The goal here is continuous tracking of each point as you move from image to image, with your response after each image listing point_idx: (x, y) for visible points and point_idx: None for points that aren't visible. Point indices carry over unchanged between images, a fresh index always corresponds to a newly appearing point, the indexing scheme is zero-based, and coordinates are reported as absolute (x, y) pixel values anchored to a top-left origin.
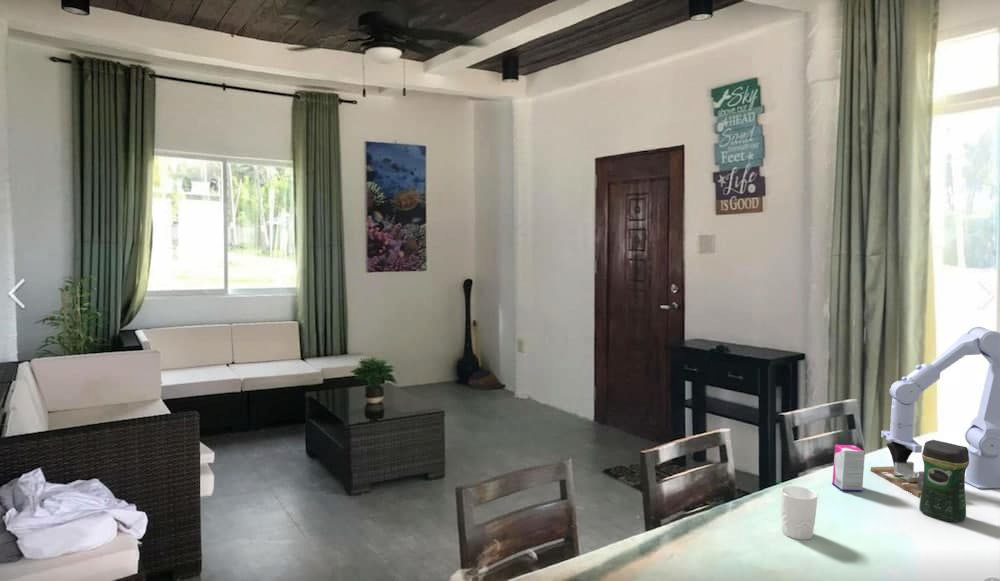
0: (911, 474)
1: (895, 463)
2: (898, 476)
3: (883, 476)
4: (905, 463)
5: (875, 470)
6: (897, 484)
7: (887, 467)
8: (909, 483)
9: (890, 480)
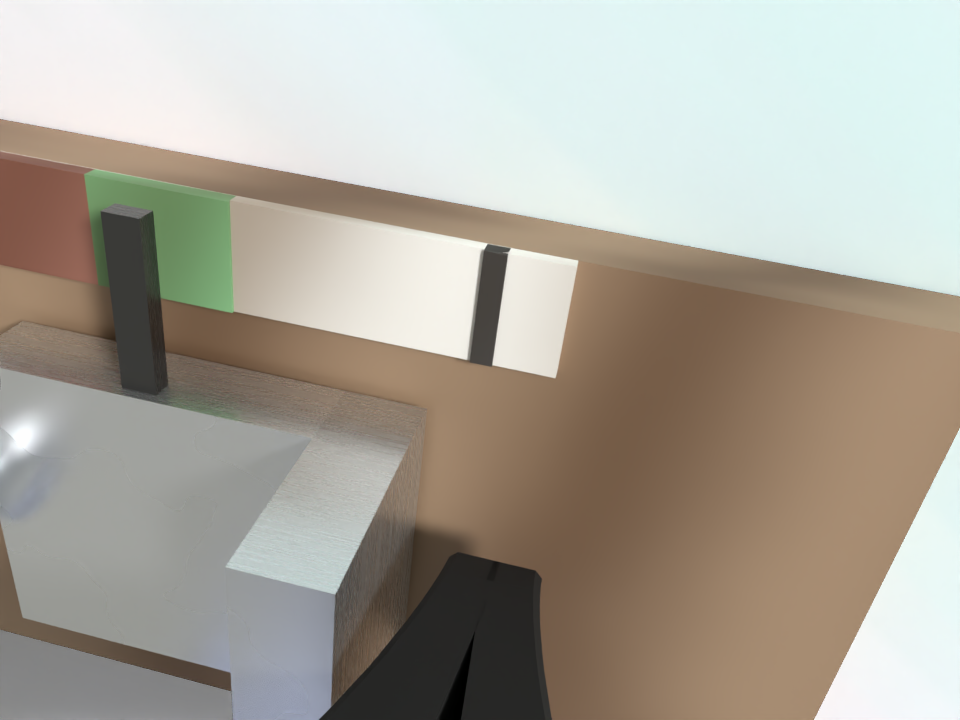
0: (155, 546)
1: (313, 567)
2: (117, 279)
3: (527, 229)
4: (238, 713)
5: (808, 294)
6: (116, 151)
7: (806, 609)
8: (5, 303)
9: (310, 188)
